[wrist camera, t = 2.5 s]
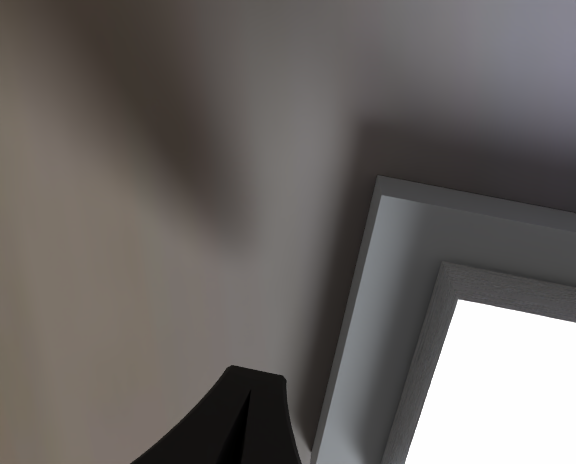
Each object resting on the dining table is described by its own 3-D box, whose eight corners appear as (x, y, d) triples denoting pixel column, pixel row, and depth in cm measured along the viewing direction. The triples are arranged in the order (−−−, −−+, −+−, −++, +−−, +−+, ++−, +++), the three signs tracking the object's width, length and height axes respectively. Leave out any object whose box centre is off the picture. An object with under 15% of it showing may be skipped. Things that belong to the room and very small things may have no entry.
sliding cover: (760, 324, 12) (836, 375, 10) (631, 548, 15) (672, 622, 13) (442, 261, 12) (458, 299, 11) (372, 491, 15) (375, 555, 13)
